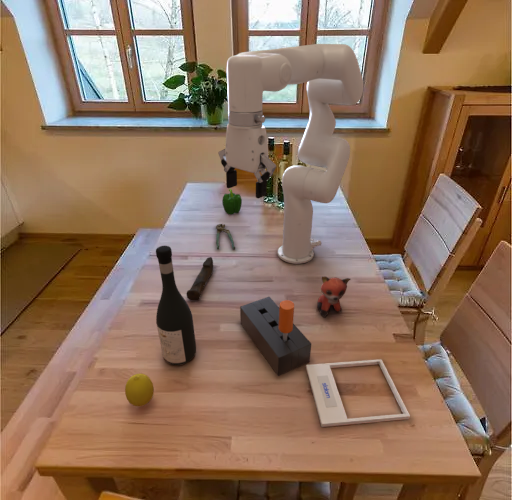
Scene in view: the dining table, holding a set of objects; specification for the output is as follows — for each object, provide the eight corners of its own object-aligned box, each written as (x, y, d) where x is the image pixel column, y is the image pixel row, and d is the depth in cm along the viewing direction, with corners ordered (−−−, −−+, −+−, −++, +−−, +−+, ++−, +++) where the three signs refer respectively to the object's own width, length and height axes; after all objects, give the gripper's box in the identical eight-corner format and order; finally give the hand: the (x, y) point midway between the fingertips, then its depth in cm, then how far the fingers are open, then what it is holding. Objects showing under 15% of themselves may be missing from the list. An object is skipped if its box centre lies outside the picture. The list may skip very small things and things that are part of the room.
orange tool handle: (286, 349, 87) (289, 298, 79) (293, 358, 85) (297, 306, 76) (274, 353, 86) (276, 302, 78) (281, 363, 84) (284, 311, 75)
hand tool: (199, 302, 102) (198, 290, 100) (186, 300, 103) (185, 288, 101) (220, 267, 118) (219, 255, 116) (209, 265, 119) (208, 254, 116)
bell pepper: (241, 216, 151) (240, 194, 146) (222, 216, 151) (221, 194, 146) (242, 208, 158) (241, 187, 153) (224, 208, 158) (222, 187, 153)
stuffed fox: (338, 294, 106) (343, 260, 99) (347, 319, 96) (353, 284, 90) (312, 294, 106) (316, 260, 99) (319, 320, 96) (324, 284, 90)
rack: (268, 313, 98) (269, 296, 95) (309, 361, 84) (311, 343, 81) (240, 323, 95) (239, 306, 92) (277, 376, 80) (278, 357, 77)
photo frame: (306, 364, 82) (381, 358, 83) (305, 367, 82) (380, 361, 84) (322, 423, 69) (410, 415, 71) (321, 426, 70) (409, 418, 71)
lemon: (132, 392, 77) (125, 367, 73) (158, 390, 77) (152, 365, 73) (126, 415, 72) (118, 390, 68) (154, 413, 72) (147, 387, 68)
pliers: (235, 250, 127) (235, 247, 127) (217, 251, 127) (216, 248, 126) (230, 225, 144) (230, 222, 143) (214, 226, 143) (214, 223, 142)
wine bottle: (181, 372, 81) (163, 264, 66) (156, 358, 85) (133, 252, 69) (203, 350, 87) (191, 245, 71) (179, 337, 91) (163, 235, 75)
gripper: (286, 121, 76) (283, 196, 85) (229, 112, 86) (231, 179, 94) (264, 127, 71) (263, 205, 80) (206, 116, 81) (210, 187, 90)
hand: (246, 191), depth 87 cm, fingers open, 9 cm apart
